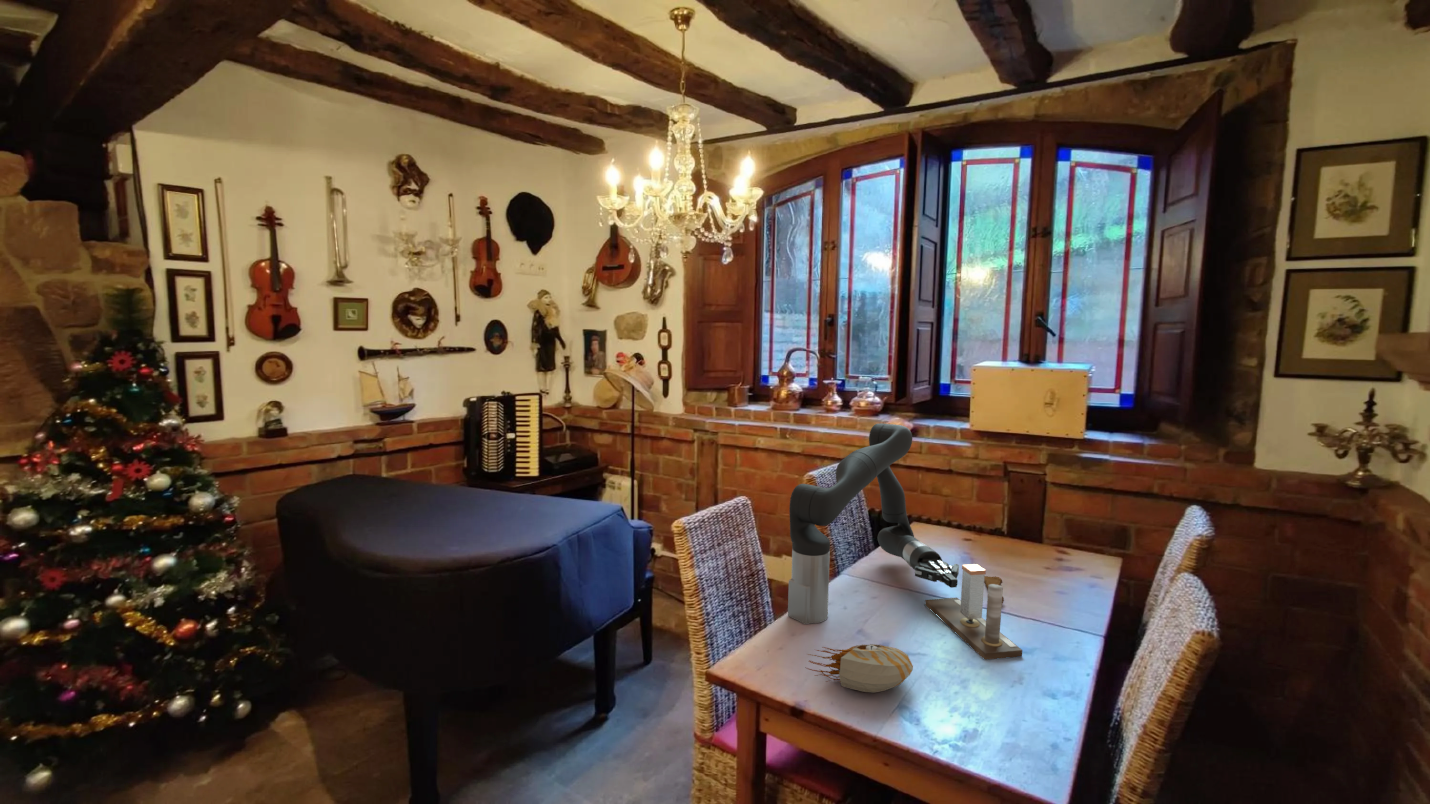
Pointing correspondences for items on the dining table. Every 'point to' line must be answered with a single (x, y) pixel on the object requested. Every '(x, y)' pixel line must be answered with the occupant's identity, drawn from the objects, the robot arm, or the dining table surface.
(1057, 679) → the dining table surface
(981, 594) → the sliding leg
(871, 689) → the nautilus
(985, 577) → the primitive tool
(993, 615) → the wooden base plate
